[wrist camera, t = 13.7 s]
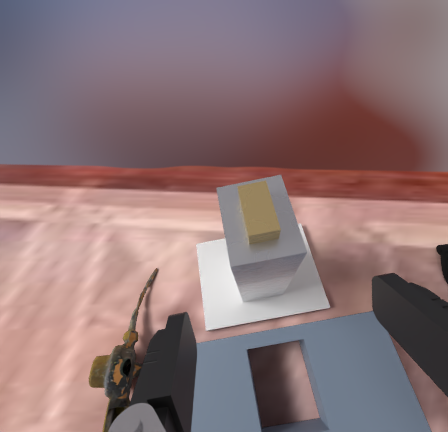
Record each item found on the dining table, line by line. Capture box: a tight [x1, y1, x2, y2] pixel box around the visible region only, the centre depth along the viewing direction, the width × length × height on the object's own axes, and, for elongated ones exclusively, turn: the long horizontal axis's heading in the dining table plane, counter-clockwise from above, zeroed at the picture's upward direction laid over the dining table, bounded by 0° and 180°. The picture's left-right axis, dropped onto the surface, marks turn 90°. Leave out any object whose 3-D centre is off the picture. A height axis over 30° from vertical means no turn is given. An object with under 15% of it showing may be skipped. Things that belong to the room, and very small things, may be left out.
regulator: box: [89, 268, 157, 432], centre depth 23 cm, size 8×4×15 cm
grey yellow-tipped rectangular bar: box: [217, 175, 307, 302], centre depth 19 cm, size 4×5×14 cm
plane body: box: [191, 311, 432, 432], centre depth 20 cm, size 18×8×3 cm, turn 99°
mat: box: [196, 223, 330, 331], centre depth 25 cm, size 12×9×1 cm
